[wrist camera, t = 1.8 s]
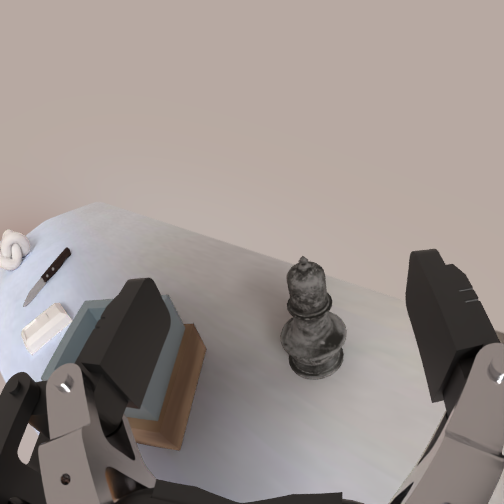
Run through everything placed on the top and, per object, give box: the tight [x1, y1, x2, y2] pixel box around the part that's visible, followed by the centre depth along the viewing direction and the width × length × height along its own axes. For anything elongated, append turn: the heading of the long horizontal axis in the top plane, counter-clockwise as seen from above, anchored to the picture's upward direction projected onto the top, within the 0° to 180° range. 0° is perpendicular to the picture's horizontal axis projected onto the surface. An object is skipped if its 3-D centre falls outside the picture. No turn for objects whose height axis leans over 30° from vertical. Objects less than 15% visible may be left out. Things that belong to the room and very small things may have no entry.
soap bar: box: [21, 303, 72, 355], centre depth 40 cm, size 5×9×3 cm, turn 140°
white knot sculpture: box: [0, 229, 30, 270], centre depth 64 cm, size 11×12×9 cm
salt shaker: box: [281, 256, 347, 379], centre depth 25 cm, size 6×6×12 cm
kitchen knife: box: [23, 248, 71, 307], centre depth 54 cm, size 18×1×2 cm, turn 172°
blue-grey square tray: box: [41, 295, 185, 421], centre depth 26 cm, size 10×10×4 cm
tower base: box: [127, 324, 206, 450], centre depth 28 cm, size 12×12×4 cm
